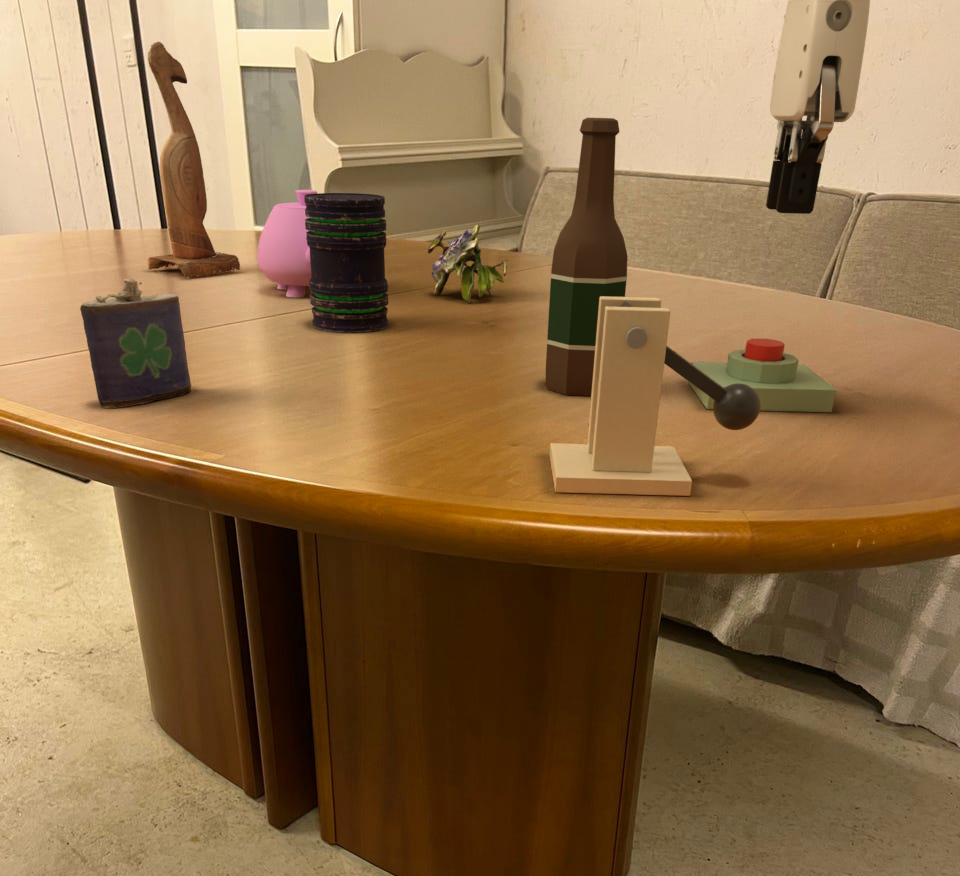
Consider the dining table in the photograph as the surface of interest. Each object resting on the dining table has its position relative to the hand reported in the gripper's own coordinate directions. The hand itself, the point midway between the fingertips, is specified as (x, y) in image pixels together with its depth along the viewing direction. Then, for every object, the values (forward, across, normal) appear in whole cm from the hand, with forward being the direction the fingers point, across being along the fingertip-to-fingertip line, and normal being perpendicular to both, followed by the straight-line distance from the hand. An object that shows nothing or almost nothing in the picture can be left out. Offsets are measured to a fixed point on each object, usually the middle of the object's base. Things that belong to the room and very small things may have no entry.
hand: (788, 209), depth 84 cm
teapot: (+17, +53, +54) cm, 77 cm away
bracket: (+17, -24, +17) cm, 34 cm away
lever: (+10, -24, +13) cm, 30 cm away
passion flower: (+17, +53, +31) cm, 64 cm away
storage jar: (+17, +30, +45) cm, 57 cm away
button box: (+17, 0, 0) cm, 17 cm away
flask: (+17, -6, +59) cm, 62 cm away
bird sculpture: (+17, +69, +76) cm, 104 cm away
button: (+14, 0, 0) cm, 14 cm away
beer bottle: (+17, +2, +18) cm, 25 cm away
